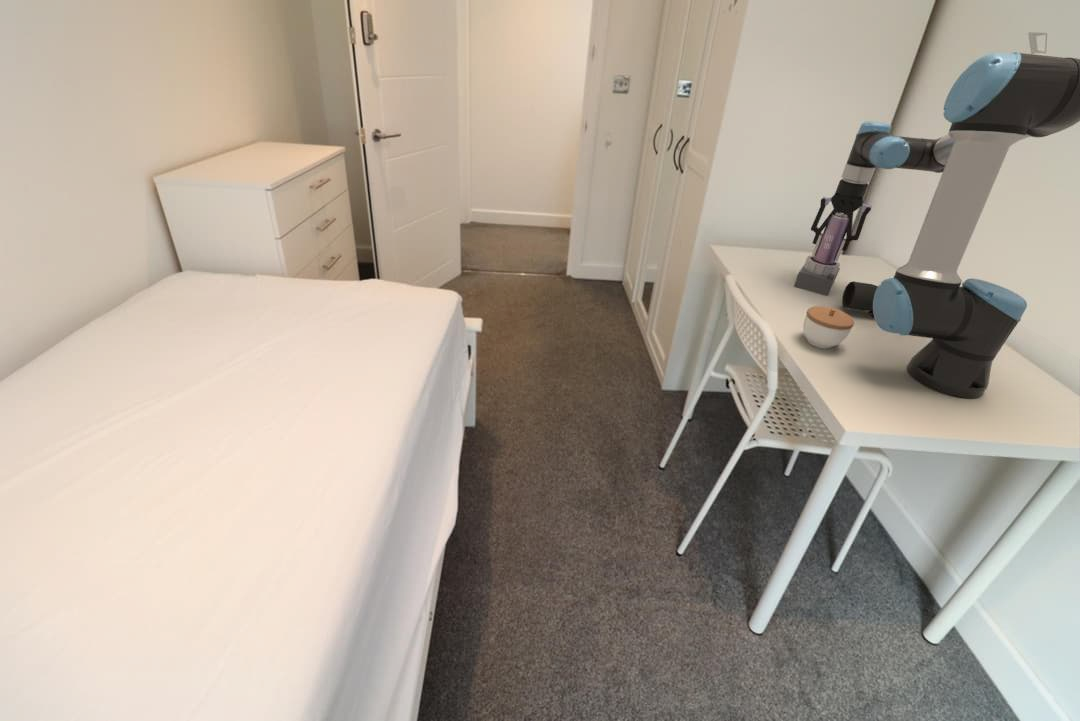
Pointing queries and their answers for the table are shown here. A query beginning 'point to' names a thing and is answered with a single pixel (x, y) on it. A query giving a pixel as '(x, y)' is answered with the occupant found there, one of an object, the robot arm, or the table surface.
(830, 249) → the beverage can
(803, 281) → the grey socket block
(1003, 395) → the table surface
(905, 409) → the table surface
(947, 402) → the table surface
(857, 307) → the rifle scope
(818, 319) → the lidded jar
